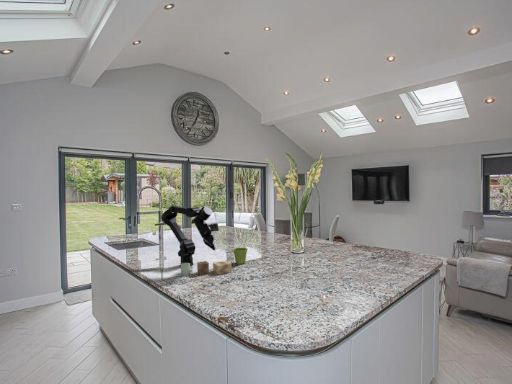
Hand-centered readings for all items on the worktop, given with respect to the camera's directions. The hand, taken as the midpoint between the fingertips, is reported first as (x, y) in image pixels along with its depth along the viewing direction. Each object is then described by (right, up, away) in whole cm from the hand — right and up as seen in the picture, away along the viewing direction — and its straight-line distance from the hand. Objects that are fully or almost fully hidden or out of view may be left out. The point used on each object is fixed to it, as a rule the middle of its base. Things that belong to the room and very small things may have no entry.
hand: (213, 247), depth 166 cm
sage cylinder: (-15, -14, -5) cm, 21 cm away
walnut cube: (-6, -14, -2) cm, 15 cm away
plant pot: (+14, -13, +19) cm, 27 cm away
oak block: (+5, -14, 0) cm, 15 cm away
